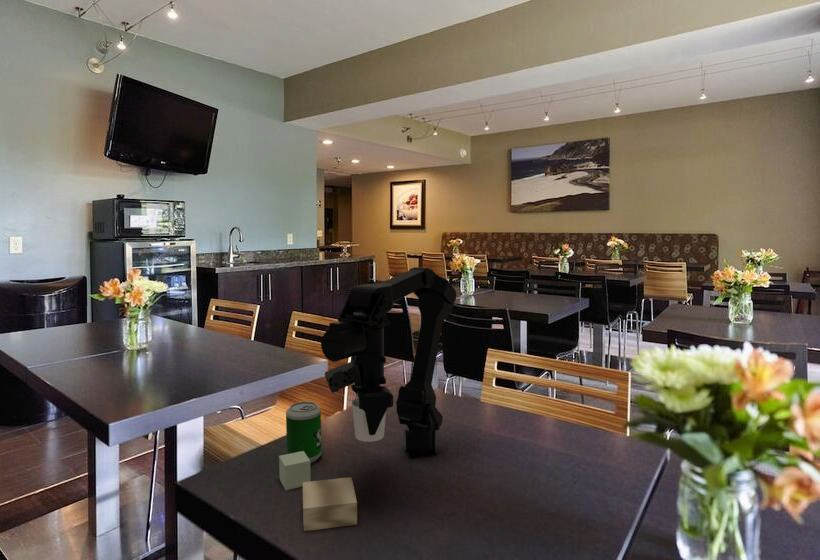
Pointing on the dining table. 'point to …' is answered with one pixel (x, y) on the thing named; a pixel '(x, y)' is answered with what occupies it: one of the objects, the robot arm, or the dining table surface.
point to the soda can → (304, 429)
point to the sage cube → (294, 470)
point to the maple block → (329, 504)
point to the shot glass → (365, 425)
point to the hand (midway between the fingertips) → (369, 428)
